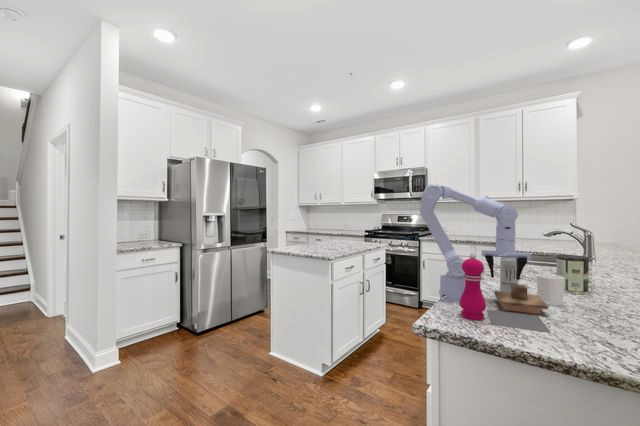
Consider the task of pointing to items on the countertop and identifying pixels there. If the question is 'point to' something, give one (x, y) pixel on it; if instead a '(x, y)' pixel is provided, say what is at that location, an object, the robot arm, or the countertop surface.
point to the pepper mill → (472, 290)
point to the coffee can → (573, 273)
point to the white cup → (551, 289)
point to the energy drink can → (507, 273)
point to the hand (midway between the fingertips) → (504, 278)
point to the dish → (521, 308)
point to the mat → (517, 320)
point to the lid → (520, 297)
